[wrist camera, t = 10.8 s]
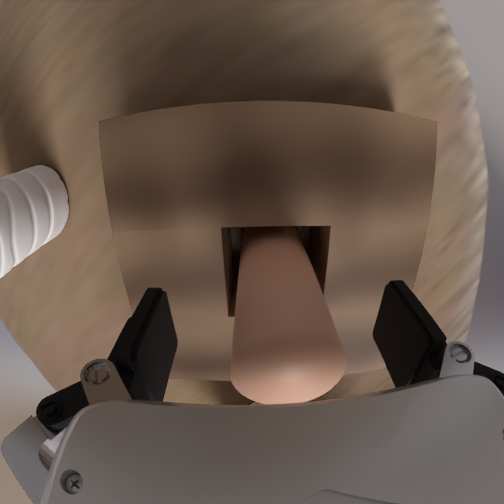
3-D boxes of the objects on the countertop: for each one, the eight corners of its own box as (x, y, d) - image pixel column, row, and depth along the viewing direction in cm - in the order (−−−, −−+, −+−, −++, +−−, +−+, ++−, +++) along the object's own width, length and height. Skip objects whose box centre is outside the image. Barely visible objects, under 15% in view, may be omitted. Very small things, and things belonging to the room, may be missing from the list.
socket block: (135, 121, 16) (98, 121, 11) (396, 120, 16) (437, 121, 11) (169, 335, 23) (155, 376, 19) (366, 329, 23) (384, 368, 19)
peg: (241, 213, 19) (224, 332, 8) (299, 212, 19) (356, 327, 8) (243, 265, 20) (233, 406, 10) (297, 264, 20) (334, 401, 9)
